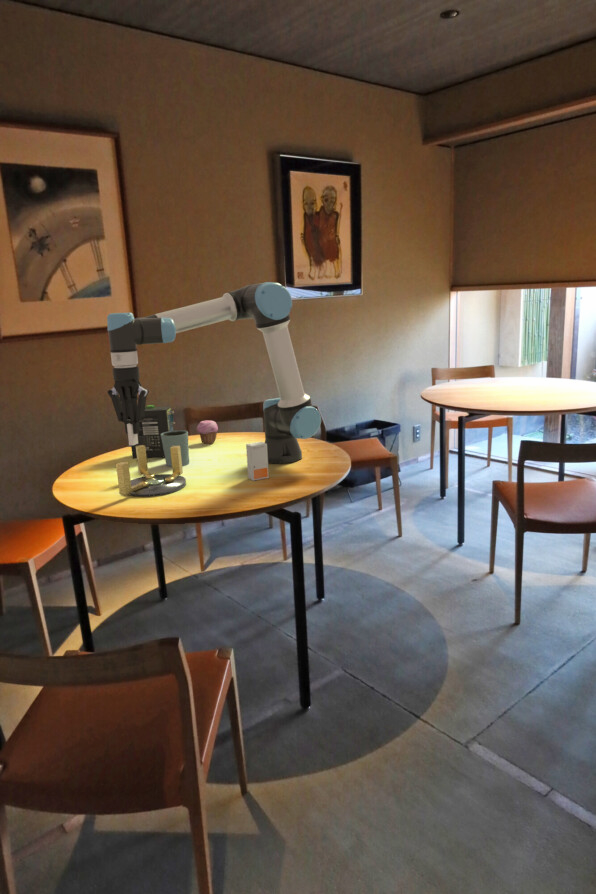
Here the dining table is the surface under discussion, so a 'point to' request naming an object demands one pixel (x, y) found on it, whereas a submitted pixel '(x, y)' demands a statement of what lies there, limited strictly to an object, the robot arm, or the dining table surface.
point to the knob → (143, 462)
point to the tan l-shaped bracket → (175, 463)
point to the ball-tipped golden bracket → (127, 479)
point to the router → (153, 430)
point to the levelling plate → (158, 485)
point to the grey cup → (175, 440)
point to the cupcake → (207, 431)
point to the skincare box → (257, 461)
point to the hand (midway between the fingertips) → (133, 444)
